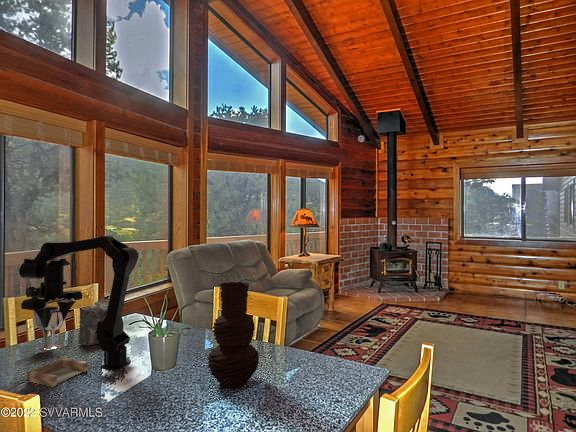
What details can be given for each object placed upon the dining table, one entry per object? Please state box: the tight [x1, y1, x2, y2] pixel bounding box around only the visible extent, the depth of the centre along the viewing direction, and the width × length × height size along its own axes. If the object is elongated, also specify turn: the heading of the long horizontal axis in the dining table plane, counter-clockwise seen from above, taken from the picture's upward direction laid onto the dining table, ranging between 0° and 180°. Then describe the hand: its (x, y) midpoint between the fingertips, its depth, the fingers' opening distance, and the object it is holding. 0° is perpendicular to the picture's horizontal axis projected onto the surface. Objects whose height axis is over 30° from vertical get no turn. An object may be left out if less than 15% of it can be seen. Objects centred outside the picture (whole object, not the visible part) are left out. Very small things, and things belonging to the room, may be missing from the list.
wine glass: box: [32, 305, 59, 351], centre depth 144 cm, size 8×8×15 cm
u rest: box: [26, 357, 89, 388], centre depth 120 cm, size 10×12×3 cm
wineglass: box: [45, 310, 64, 351], centre depth 131 cm, size 6×6×12 cm
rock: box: [77, 299, 109, 346], centre depth 157 cm, size 21×16×10 cm
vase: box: [207, 281, 260, 391], centre depth 116 cm, size 15×15×30 cm
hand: (53, 325), depth 131 cm, fingers closed on wineglass, 6 cm apart
